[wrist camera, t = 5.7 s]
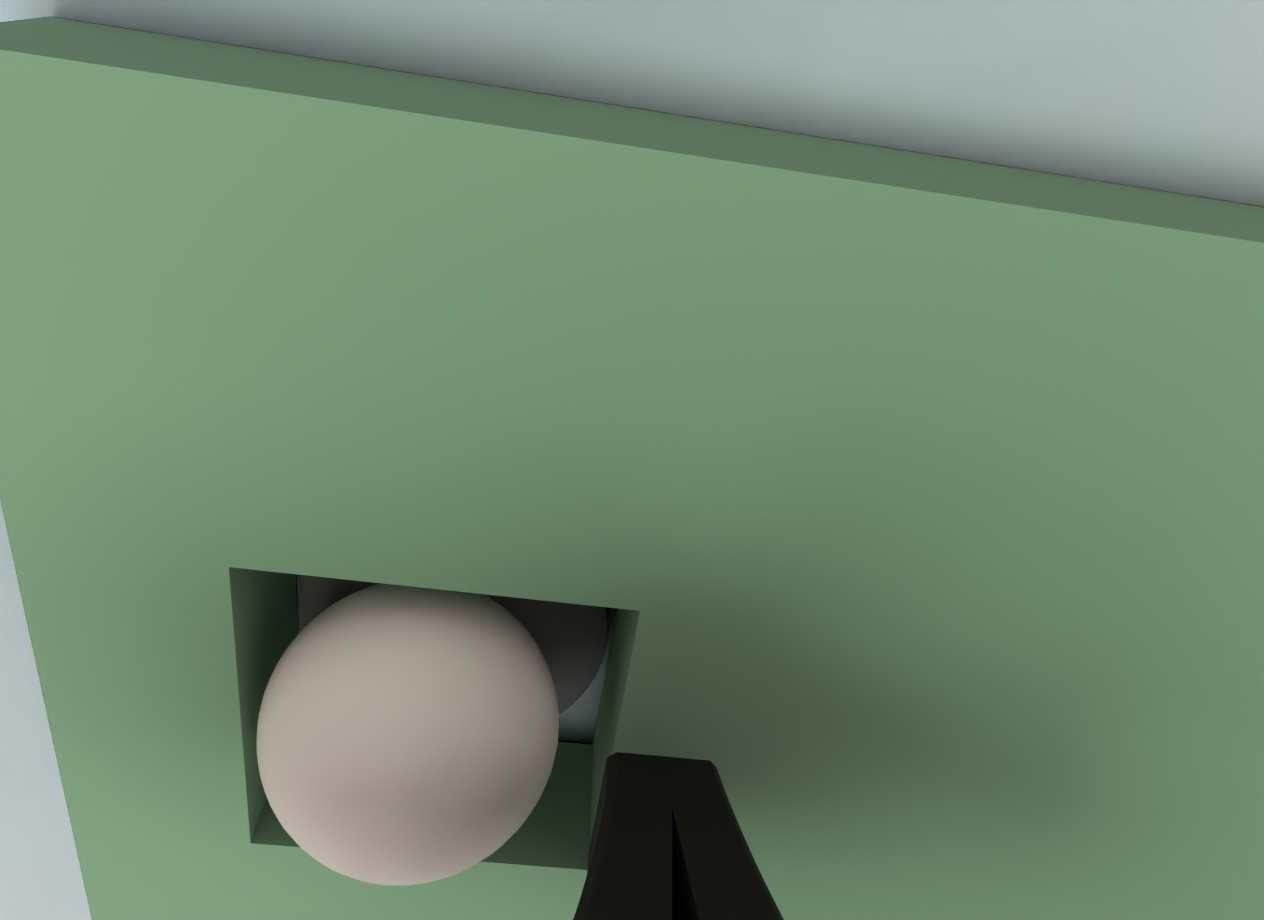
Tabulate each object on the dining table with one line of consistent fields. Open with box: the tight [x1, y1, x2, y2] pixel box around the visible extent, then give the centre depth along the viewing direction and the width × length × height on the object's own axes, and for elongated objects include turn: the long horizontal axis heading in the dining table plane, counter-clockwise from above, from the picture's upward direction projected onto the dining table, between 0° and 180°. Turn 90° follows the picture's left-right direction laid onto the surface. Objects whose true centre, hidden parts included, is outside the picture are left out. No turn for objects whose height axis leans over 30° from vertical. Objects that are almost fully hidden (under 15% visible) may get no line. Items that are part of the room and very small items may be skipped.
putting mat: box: [0, 17, 1264, 920], centre depth 14 cm, size 20×16×2 cm
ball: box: [256, 583, 559, 886], centre depth 13 cm, size 4×4×4 cm
